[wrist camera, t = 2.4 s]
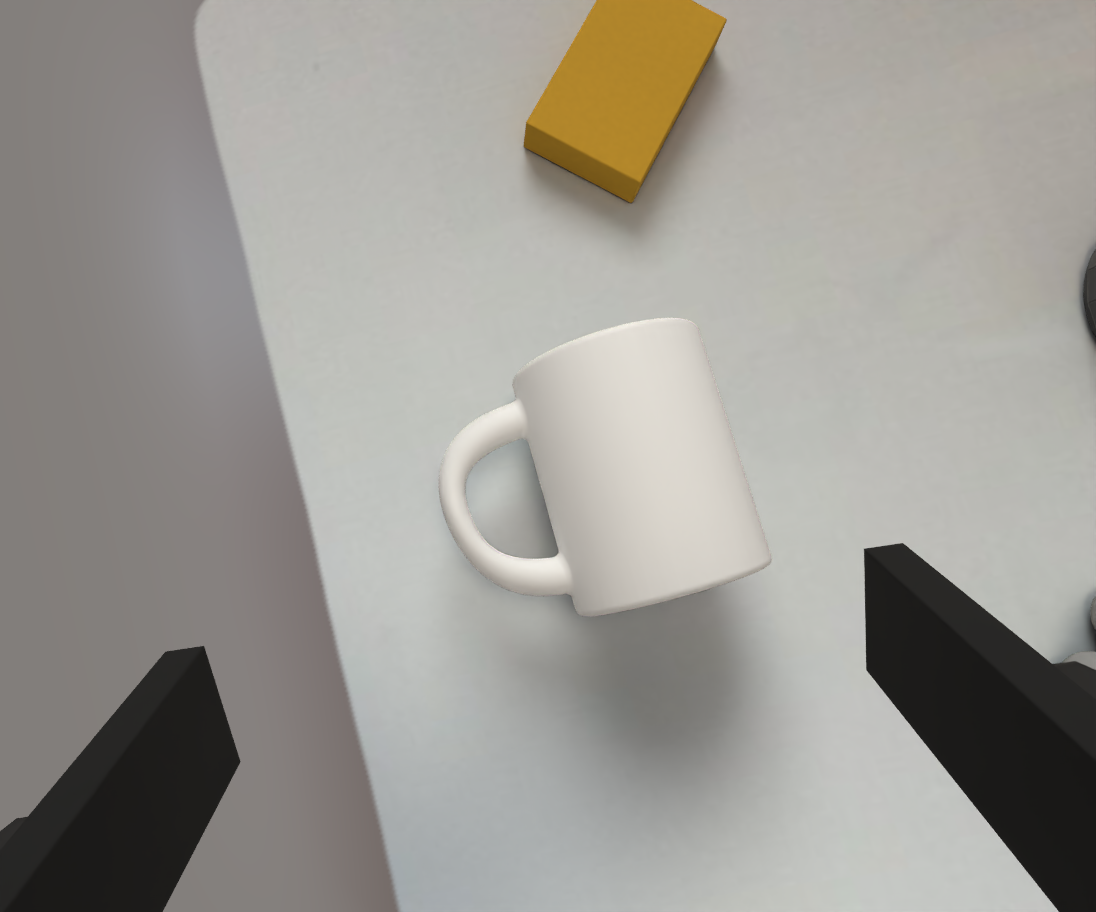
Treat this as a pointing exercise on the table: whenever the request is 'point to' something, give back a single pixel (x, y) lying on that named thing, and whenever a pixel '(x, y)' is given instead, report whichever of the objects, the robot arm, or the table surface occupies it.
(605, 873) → the table surface
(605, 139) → the ochre rectangular brick
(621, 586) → the mug
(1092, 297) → the dark grey round container
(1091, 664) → the round bodied animal figurine
